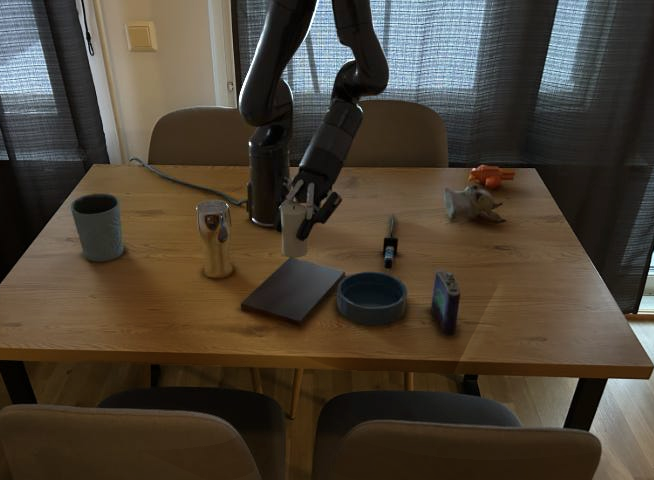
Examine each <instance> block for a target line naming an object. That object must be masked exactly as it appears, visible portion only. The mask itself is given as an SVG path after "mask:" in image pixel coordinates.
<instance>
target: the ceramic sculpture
mask: <svg viewBox="0 0 654 480" xmlns="http://www.w3.org/2000/svg"><path fill="white" fill-rule="evenodd" d="M443 197H444V200H443V202H444V203H443V204H444V206H445V209H446V213H447V215H448V216H449V218H450V219H456V218H457V217H463V218H467V219H470V220H474V221H475V220H476V221H481V222H482V223H485V224H489V225H493V224H501V223H505V222H507V219H506V218H502V217H501V216H500V215H499V214H498V213H497V212H495V211H493V210H495V209H498V208H499V207H502V205H504V202H502V201H501V202H494V198H493V196H492V194H491V193H490V192H489V191H488V190H486V189H482V188H479V187H478V185H476V184H473V185H469V186H467V187H465V189H464V190H461V191H459V190H455V189H453V188H448V187H447V188H444V194H443Z"/></svg>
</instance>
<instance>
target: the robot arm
mask: <svg viewBox="0 0 654 480" xmlns="http://www.w3.org/2000/svg"><path fill="white" fill-rule="evenodd" d="M330 4H331V12H332V18H333V22H334V29H335V33H336V38H337V41H338V43H339V45H341V46H343V47H345V48H348V49H350V50H351V53H352V55H353V59H349V60H347V61H346V62H345V63H343V64H342V65H341V67H340V68H339V69H338V71H337V73H336V75H335V78H334V81H333V85H332V89H331V94H330V98H329V100H330V101H329V104H328V105H329V106H328V107H327V109H326V112H325V114H324V115H323V117H322V120H321V122H320V125H318V128H317V129H316V131H315V132H314V134H313V135H312V137H311V140H310V142H309V144H308V145H307V148H306V150H305V152H304V154H303V157H302V159H301V161H300V162H299V165H298V171H297V173H296V174H295V175H294V176H293V177H292V178H291V173H290V171H291V168H290V165H291V164H290V144H291V142H292V139H293V133H294V97H293V93H292V90H291V87H290V85H289V84H288V82H287V81H286V80H285V79H284V78H282V75H283V73H284V72H285V70H286V68H287V67H288V64H289V63H290V62H291V60H292V59H293V57H294V56H295V55H296V53H297V52H298V50H299V49H300V47H301V46H302V44H303V43H304V41H305V39H306V38H307V36H308V34H309V31H310V30H311V27H312V24H313V21H314V18H315V14H316V11H317V8H318V5H319V0H268V1H267V5H266V10H265V13H264V17H263V21H262V25H261V29H260V33H259V36H258V39H257V43H256V47H255V51H254V54H253V57H252V61H251V63H250V66H249V69H248V70H247V73H246V75H245V78H244V81H243V84H242V87H241V88H240V89H241V90H240V93H239V96H238V110H239V114H240V116H241V118H242V120H243V121H244V123H245V124H247V125H248V126H250V127H253V128H256V130H255V131H254V133H253V134H252V135H251V136H250V138H249V140H248V159H249V160H248V161H249V163H248V164H249V178H250V179H249V180H250V181H249V182H247V184H246V190H247V198H246V199H241V200H240V201H235V200H234V199H233V198H231V197H229V196H228V195H227V194H226V193H223V192H222V191H218V190H215V189H211V188H208V187H204V186H199V185H197V184H193V183H190V182H186V181H182V180H179V179H176V178H174V177H172V176H169V175H167V174H165V173H163V172H162V171H159V170H157V169H156V168H154V167H153V166H151V165H149V164H148V163H146V162H144V161H142V160H141V159H140V158H138V157H135V156H132V157H130V158H129V160H128V161H129V162H132V161H136V162H138V163H139V164H141V165H143V166H144V167H146V168H147V169H149V170H150V171H152V172H153V173H155V174H157V175H159V176H161V177H163V178H165V179H166V180H169V181H172V182H174V183H178V184H180V185H183V186H186V187H190V188H194V189H197V190H200V191H204V192H208V193H212V194H215V195H219V196H220V197H222V198H225V199H226V200H227V201H229V202H230V203H231V204H233V205H236V206H241V205H242V204H245V205H246V206H245V207H246V208H245V209H246V213H248V221H251V222H252V223H253V224H254V225H256V226H258V227H261V228H270V229H271V228H273V231H275V232H276V233H278V234H282V226H281V208H282V207H283V206H285V205H288V204H301V205H302V204H305V207H306V208H307V213H306V219H304V220H303V222H302V224H301V226H300V228H299V230H298V232H297V234H296V238H297V239H299V240H300V241H304V240H305V239H307V240H308V238H309V236H310V234H311V232H312V229H313V228H314V225H316V224H322V225H325V224H326V223H327V222H328V220H329V219H330V218H331V216H332V215H333V213H334V212H335V211H336V210H337V209H338V207H339V206H340V205H341V203H342V202H343V198H342V197H341V195H340V194H339V193H337V191H333V186H334V185H335V184H336V183H337V180H338V178H339V176H340V174H341V172H342V169H343V167H344V166H345V163H346V161H347V159H348V157H349V155H350V153H351V149H352V147H353V143H354V141H355V139H356V136H357V134H358V133H359V130H360V128H361V126H362V123H363V121H364V112H363V110H362V108H361V107H360V106H359V102H360V100H361V99H362V98H365V97H366V98H367V97H375V96H376V97H377V96H379V95H381V94H383V93H384V92H385V91H386V89H387V88H388V85H389V82H390V73H391V72H390V66H389V62H388V59H387V56H386V54H385V51H384V48H383V46H382V44H381V41H380V39H379V37H378V35H377V33H376V30H375V26H374V25H375V24H374V18H373V13H372V6H371V0H330ZM325 199H326V200H325ZM324 200H325V202H324V203H323V204H322V201H324Z"/></svg>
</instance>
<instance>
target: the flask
mask: <svg viewBox="0 0 654 480" xmlns="http://www.w3.org/2000/svg"><path fill="white" fill-rule="evenodd" d="M454 276H455V277H456V276H457V273H455V272H453V273H452V272H448V271H447V270H445V269H438V270H436V271H435V273H434V282H433V289H432V290H433V291H432V299H431V304H430V312H431V313H432V315H433V317H435V319H436V320H437V322H438V323H439V325H440V328H441V332H442V334H444V335H446V336H454V335H455V334H456V331H457V329H456V328H457V322H458V321H457V320H458V312H459V306H460V300H461V290H460V287H459V285H458V283H457V281H456V279H455V277H454Z"/></svg>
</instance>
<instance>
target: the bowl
mask: <svg viewBox="0 0 654 480" xmlns="http://www.w3.org/2000/svg"><path fill="white" fill-rule="evenodd" d="M336 289H337V291H336V307H337V310H338V312H339V313H340V315H341V316H343V317H344V318H345V319H347V320H349V321H350V322H352V323H356V324H360V325H365V326H383V325H388V324H392V323H394V322H396V321H398V320H399V319H400V318H402V317H403V316H404V314H405V313H406V308H407V299H408V298H407V297H408V290H407V286H406V285H405V284H404V282H403V281H402V280H400V279H399V278H398V277H395V276H394V275H391V274H389V273H386V272H385V273H384V272H379V271H361V272H355V273H352V274H349V275H347V276H345V277H344V278H343V279H342V280H341V282H340V283H339V284H338V285H337V287H336Z"/></svg>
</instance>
